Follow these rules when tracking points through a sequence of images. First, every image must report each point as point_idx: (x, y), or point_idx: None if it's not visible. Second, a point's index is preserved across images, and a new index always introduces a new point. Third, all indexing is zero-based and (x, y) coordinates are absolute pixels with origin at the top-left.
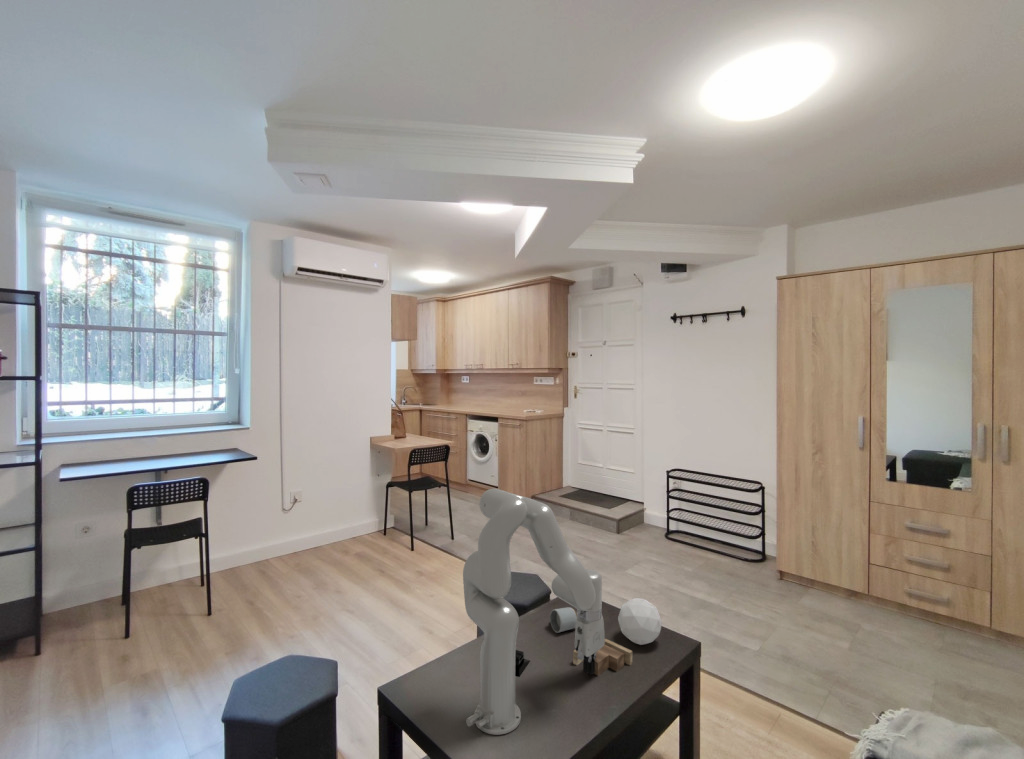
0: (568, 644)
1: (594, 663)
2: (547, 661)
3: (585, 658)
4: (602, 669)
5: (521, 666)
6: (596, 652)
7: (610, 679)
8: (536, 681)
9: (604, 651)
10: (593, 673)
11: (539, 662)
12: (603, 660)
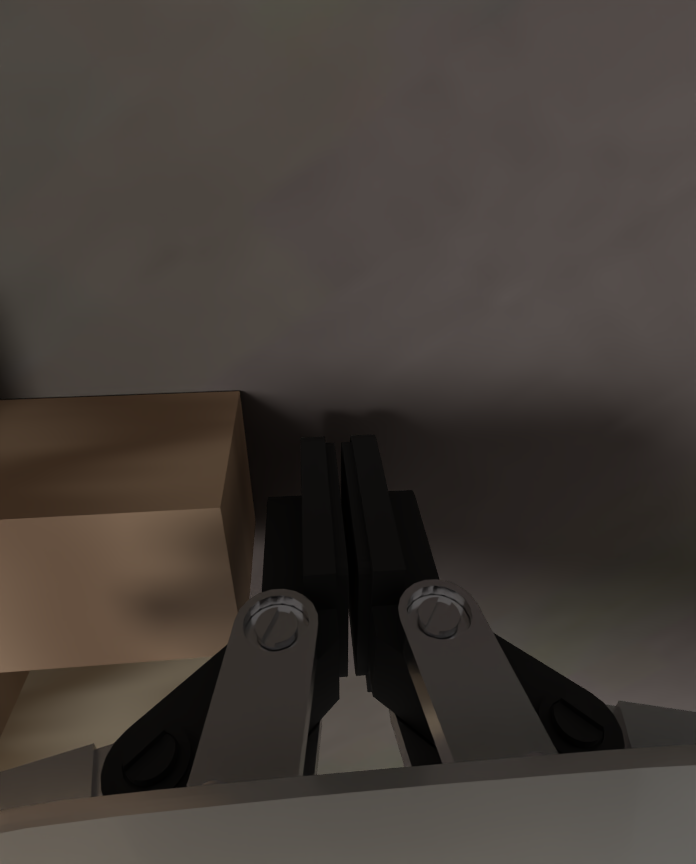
0: None
1: (314, 530)
2: None
3: (588, 697)
4: (120, 417)
5: None
6: (18, 657)
7: (149, 225)
8: (690, 652)
9: None
10: (246, 452)
11: None
12: (46, 498)
